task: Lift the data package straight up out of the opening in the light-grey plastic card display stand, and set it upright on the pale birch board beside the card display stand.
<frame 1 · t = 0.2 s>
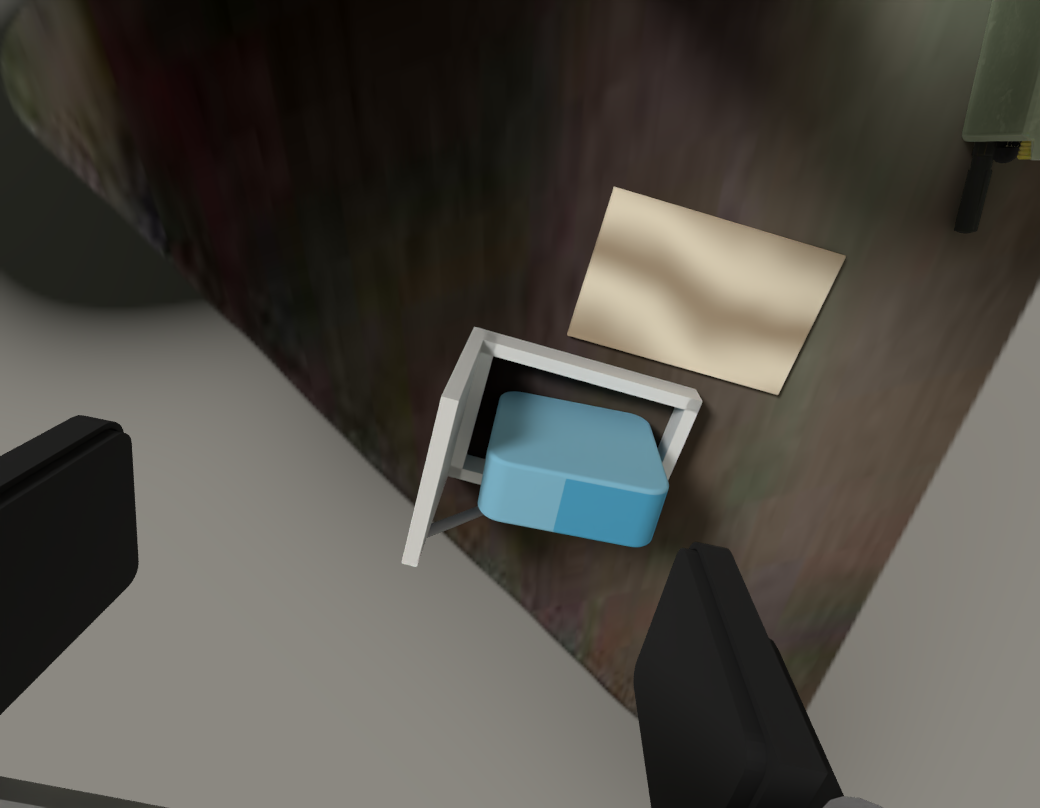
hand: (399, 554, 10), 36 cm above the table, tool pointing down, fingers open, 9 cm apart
data package: (569, 425, 49), resting in card display stand
handheld radio: (1001, 19, 37), on the table
birch board: (699, 295, 44), on the table
card display stand: (569, 426, 49), on the table
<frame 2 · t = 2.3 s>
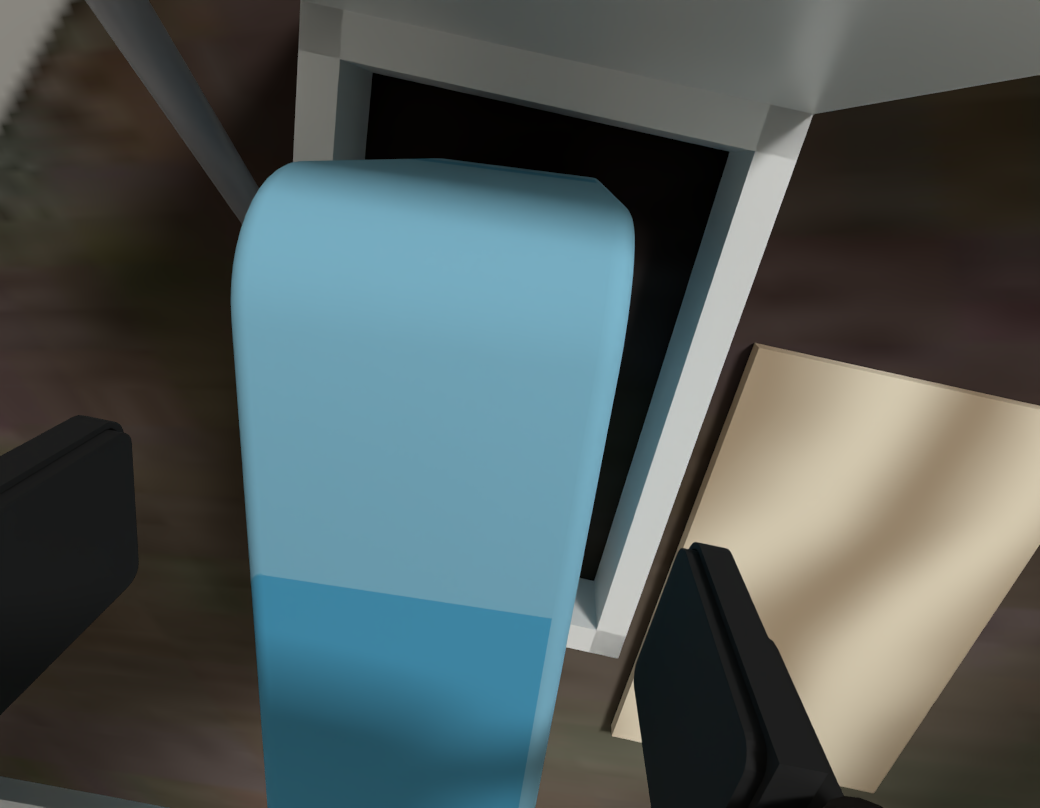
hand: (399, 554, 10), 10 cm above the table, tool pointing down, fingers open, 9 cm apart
data package: (501, 362, 20), resting in card display stand
birch board: (820, 595, 22), on the table
card display stand: (500, 365, 19), on the table
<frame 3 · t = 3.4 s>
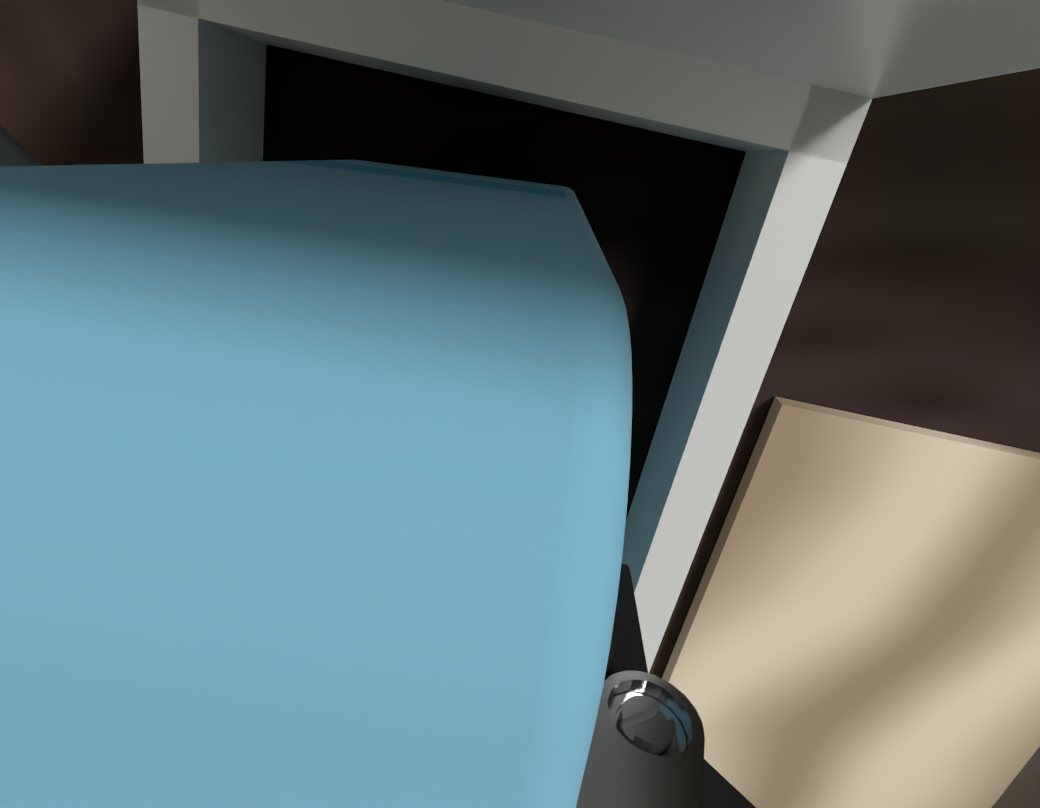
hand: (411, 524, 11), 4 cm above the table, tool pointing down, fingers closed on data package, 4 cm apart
data package: (452, 420, 15), resting in card display stand, touching gripper
birch board: (850, 694, 18), on the table
card display stand: (451, 424, 15), on the table
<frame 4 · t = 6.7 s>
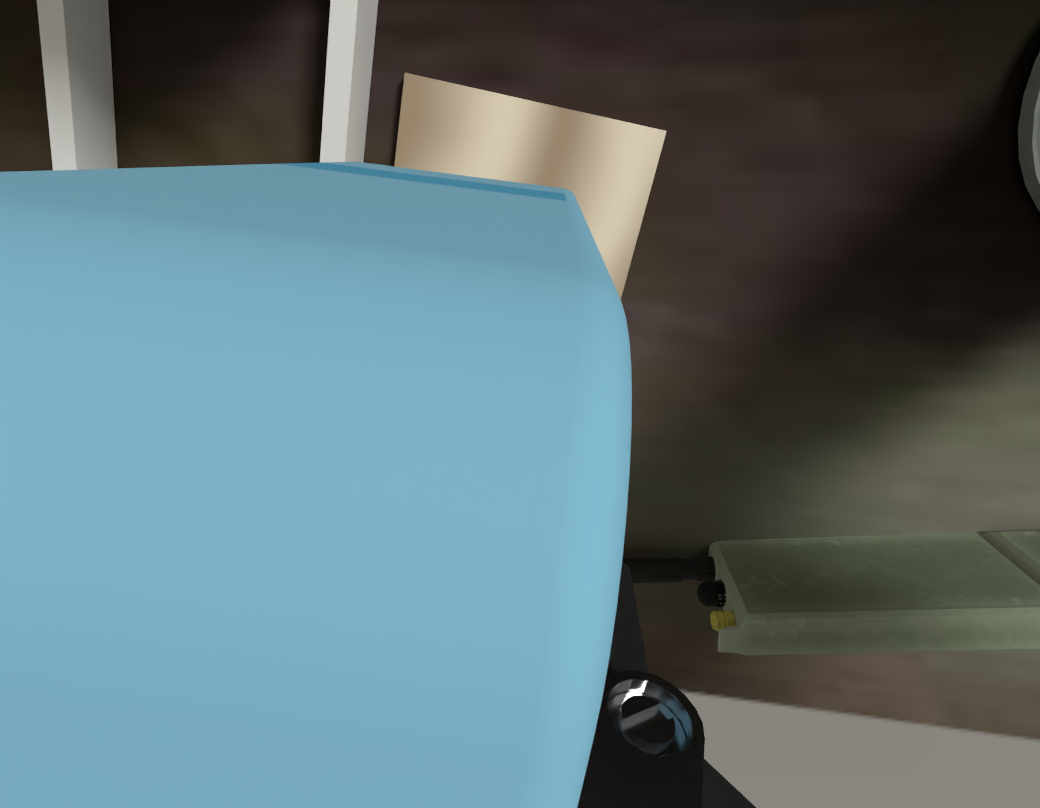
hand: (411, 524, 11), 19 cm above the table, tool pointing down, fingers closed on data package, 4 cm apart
data package: (452, 422, 15), point 14 cm above the table, touching gripper
handheld radio: (832, 548, 33), on the table
birch board: (499, 299, 28), on the table
card display stand: (228, 100, 26), on the table
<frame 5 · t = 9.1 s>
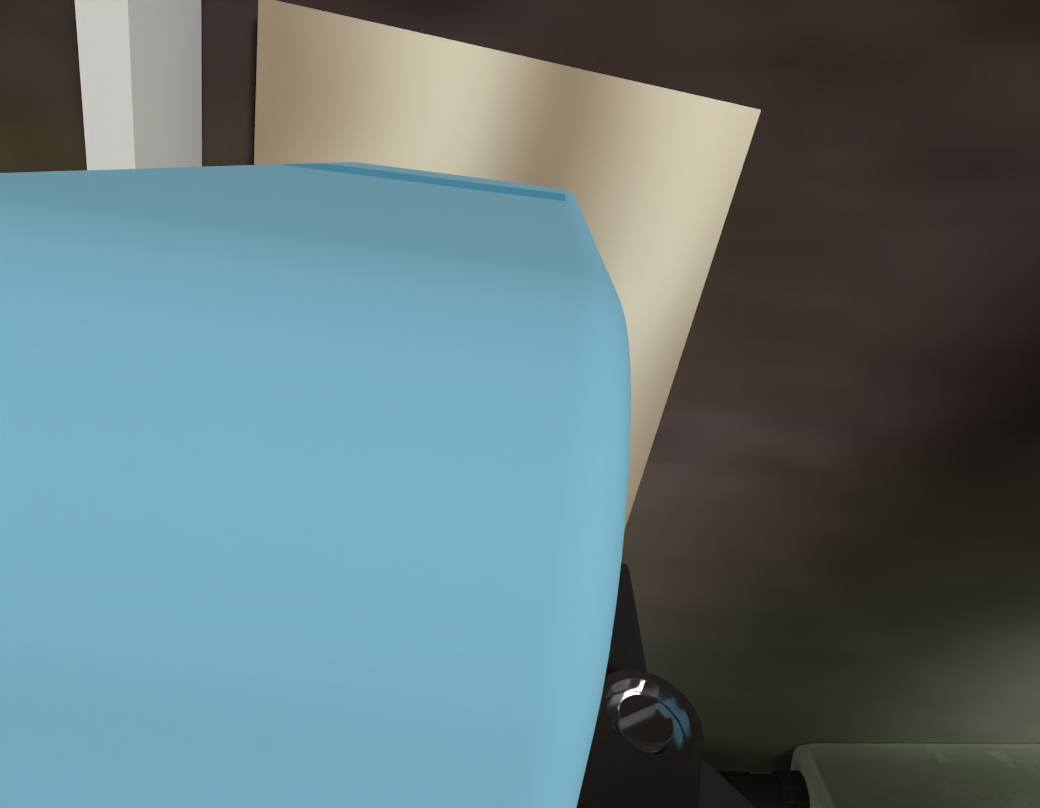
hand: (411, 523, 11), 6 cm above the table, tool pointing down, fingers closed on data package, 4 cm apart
data package: (452, 422, 15), point 1 cm above the table, touching gripper
handheld radio: (986, 753, 21), on the table
birch board: (454, 402, 17), on the table
when the fingers open (6 cm above the table, at t = 9.3 s): data package drops 1 cm, resting on birch board.
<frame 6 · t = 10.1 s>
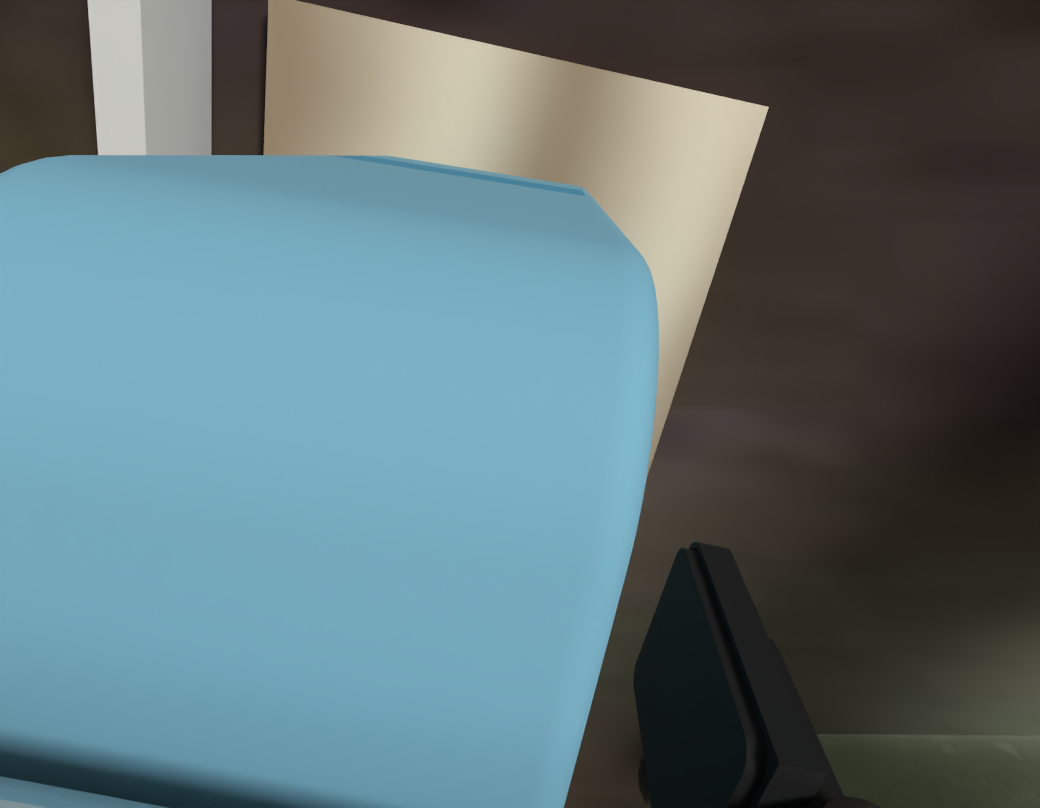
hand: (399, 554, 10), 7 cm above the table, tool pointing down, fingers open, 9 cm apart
data package: (464, 402, 16), resting on birch board
handheld radio: (993, 745, 21), on the table
birch board: (461, 399, 17), on the table
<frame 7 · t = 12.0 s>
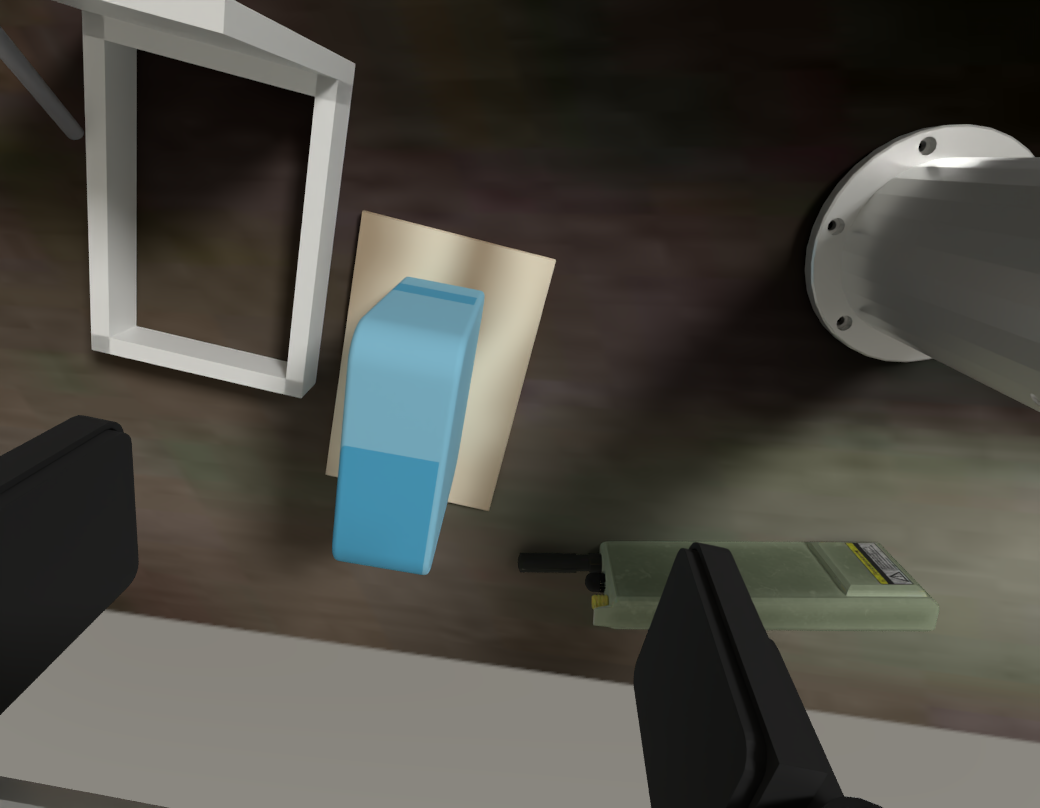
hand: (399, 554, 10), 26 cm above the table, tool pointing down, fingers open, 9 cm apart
data package: (434, 374, 37), resting on birch board
handheld radio: (696, 550, 42), on the table
birch board: (433, 373, 37), on the table
card display stand: (226, 221, 34), on the table
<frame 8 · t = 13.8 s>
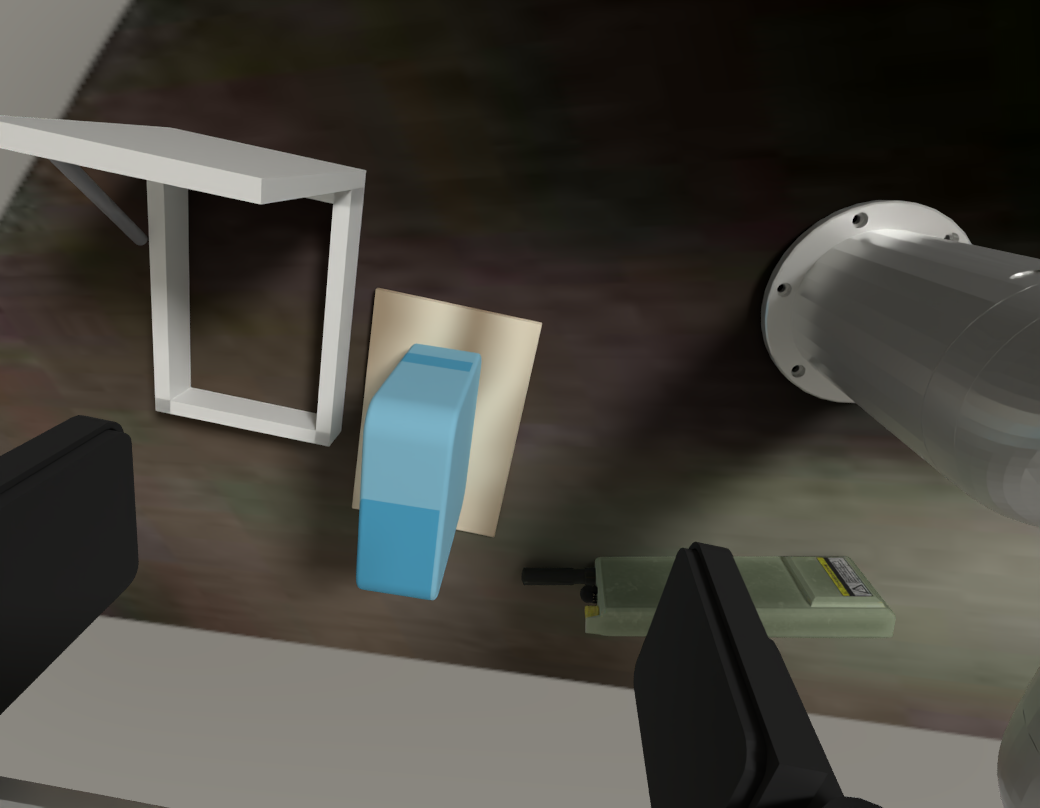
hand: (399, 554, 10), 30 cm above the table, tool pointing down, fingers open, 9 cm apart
data package: (442, 421, 42), resting on birch board
handheld radio: (682, 564, 47), on the table
birch board: (441, 420, 43), on the table
card display stand: (263, 300, 40), on the table
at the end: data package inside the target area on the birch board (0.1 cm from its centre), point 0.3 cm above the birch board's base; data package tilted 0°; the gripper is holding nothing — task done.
